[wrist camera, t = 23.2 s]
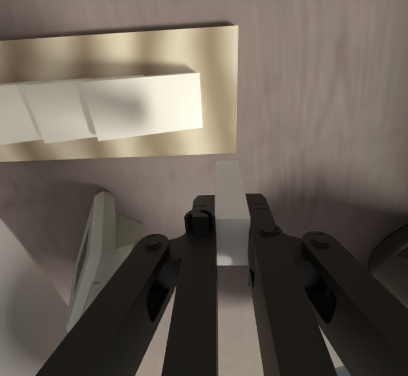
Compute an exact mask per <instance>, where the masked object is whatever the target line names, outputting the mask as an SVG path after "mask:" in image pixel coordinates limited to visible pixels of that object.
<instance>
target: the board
mask: <svg viewBox="0 0 408 376" xmlns="http://www.w3.org/2000/svg"><path fill="white" fill-rule="evenodd" d="M237 64H238V25H237V26H222V27H206V28H191V29H175V30H160V31H144V32H129V33H113V34H98V35H82V36H67V37H52V38H36V39H21V40H5V41H0V84H1V83H14V82H27V81H41V80H43V81H54V80H67V79H80V78H92V79H95V78H108V77H121V76H134V75H144V76H149V75H162V74H174V73H187V72H198V73H200V90H201V108H202V126H203V127H202V128H194V129H187V130H179V131H172V132H164V133H157V134H149V135H142V136H135V137H127V138H120V139H112V140H105V141H98V138H97V137H92V138H84V139H76V140H69V141H61V142H53V143H46V144H45V143H44V140H35V141H27V142H19V143H11V144H3V145H0V162H12V161H38V160H64V159H90V158H117V157H143V156H169V155H195V154H221V153H236V124H237Z"/></svg>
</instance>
